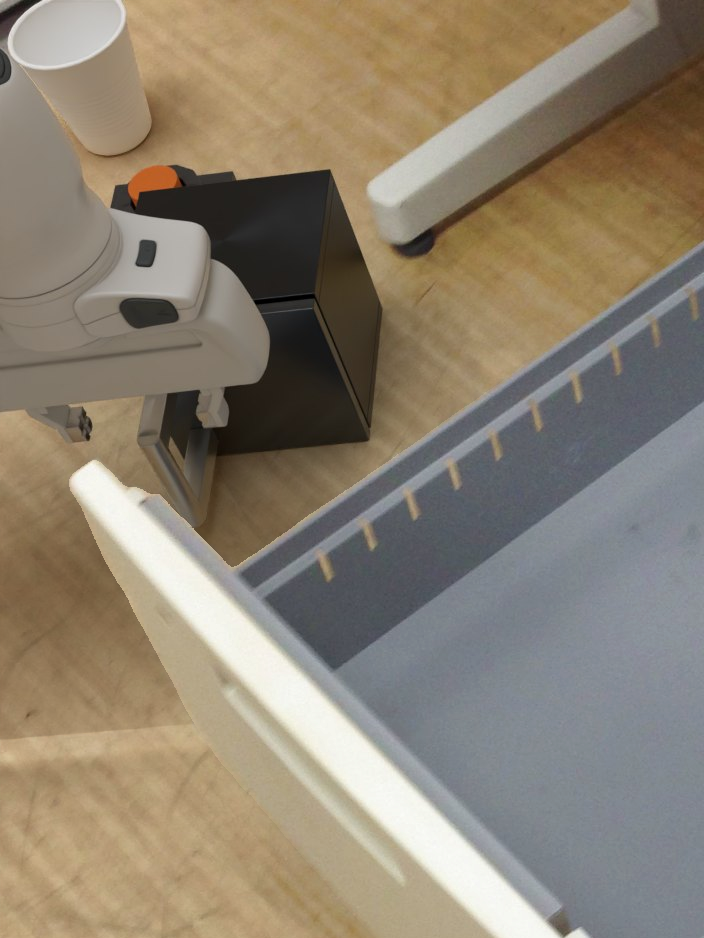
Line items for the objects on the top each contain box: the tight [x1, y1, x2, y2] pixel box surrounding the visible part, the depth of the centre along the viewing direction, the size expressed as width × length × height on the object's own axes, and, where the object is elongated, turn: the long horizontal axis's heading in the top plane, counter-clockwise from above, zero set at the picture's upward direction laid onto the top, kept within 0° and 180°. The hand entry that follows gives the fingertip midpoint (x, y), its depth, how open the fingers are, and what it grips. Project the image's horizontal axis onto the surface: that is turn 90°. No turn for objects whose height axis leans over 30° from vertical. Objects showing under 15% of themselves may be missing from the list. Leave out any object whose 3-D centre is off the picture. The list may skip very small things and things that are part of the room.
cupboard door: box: [136, 298, 371, 529], centre depth 123 cm, size 9×14×14 cm, turn 90°
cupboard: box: [135, 168, 384, 429], centre depth 129 cm, size 12×14×14 cm
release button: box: [128, 164, 182, 206], centre depth 142 cm, size 4×4×2 cm
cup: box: [6, 0, 153, 157], centre depth 149 cm, size 10×10×11 cm
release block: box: [109, 164, 237, 214], centre depth 144 cm, size 10×8×4 cm
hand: (149, 427), depth 118 cm, fingers open, 8 cm apart
